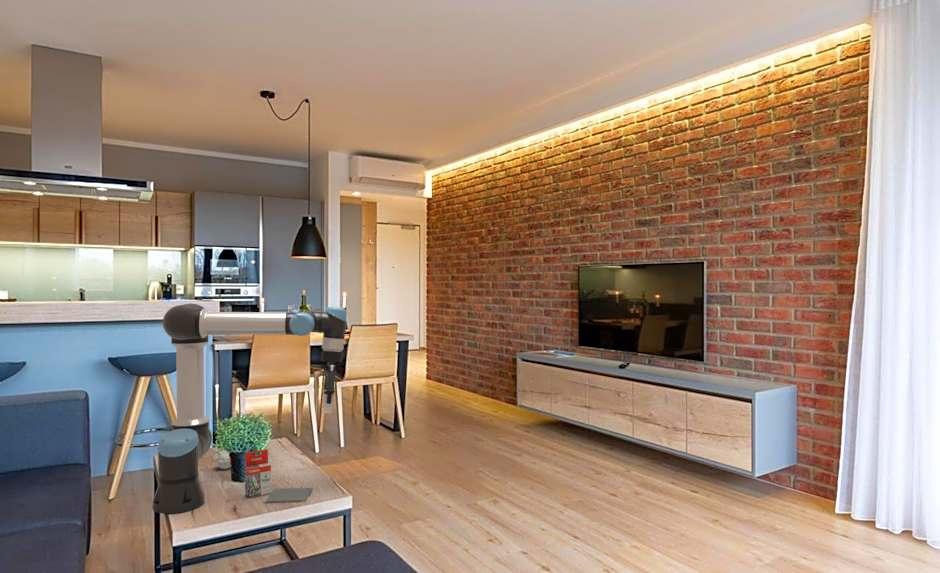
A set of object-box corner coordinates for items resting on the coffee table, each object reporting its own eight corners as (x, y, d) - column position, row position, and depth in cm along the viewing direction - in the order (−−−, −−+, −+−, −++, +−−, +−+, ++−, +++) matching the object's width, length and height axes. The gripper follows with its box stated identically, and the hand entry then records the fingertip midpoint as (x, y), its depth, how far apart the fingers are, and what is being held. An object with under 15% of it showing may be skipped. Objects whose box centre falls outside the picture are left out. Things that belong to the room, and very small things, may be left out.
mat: (265, 503, 197) (265, 501, 197) (274, 490, 209) (274, 488, 209) (305, 501, 198) (305, 500, 198) (312, 489, 210) (312, 487, 210)
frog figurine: (220, 466, 237) (219, 448, 237) (237, 466, 236) (236, 449, 236) (211, 471, 231) (211, 453, 231) (229, 471, 230) (229, 453, 230)
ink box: (271, 493, 206) (271, 451, 206) (247, 498, 201) (247, 454, 201) (268, 490, 209) (268, 448, 209) (244, 495, 204) (244, 452, 204)
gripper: (345, 352, 205) (339, 416, 203) (341, 350, 229) (335, 406, 227) (323, 351, 203) (316, 415, 201) (320, 348, 227) (315, 405, 225)
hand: (326, 410), depth 214 cm, fingers open, 13 cm apart
